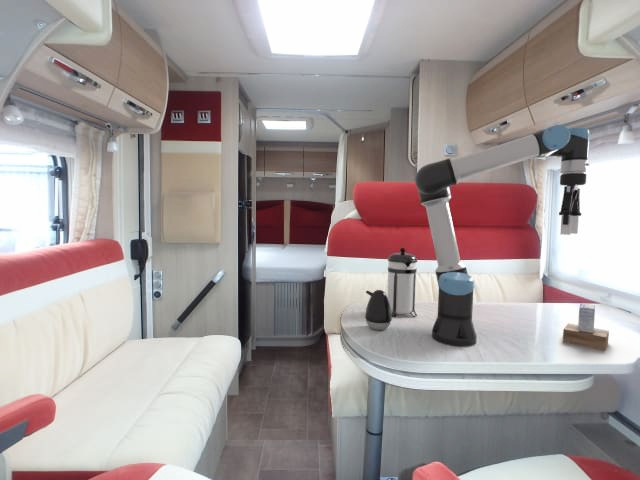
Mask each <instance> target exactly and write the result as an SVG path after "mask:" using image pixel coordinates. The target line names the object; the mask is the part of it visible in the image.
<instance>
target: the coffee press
mask: <svg viewBox="0 0 640 480" xmlns="http://www.w3.org/2000/svg"><path fill="white" fill-rule="evenodd" d="M399 251H400V252H395V253H392V254H390V255H389V256H388V258H387V261H388V267H387V272H388V273H387V298H388V300H389V303H390V308H391V315H392V318H396V317H397V315H398V314H399V315H401V314H402V315H407V314H409V315H410V316H412V317H413V318H416V317H417V316H418V315H417V313H416V311H415V306H416V305H415V303H416V283H417V282H416V281H417V279H416V278H417V272H418V271H417V269H418V268H417V263H418V259H417V257H416V255H414V254H411V253H406V249H405V248H404V247H401V248H400V249H399Z"/></svg>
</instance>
